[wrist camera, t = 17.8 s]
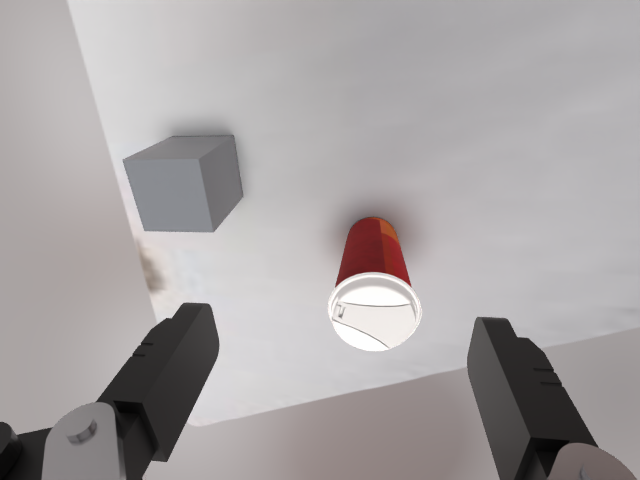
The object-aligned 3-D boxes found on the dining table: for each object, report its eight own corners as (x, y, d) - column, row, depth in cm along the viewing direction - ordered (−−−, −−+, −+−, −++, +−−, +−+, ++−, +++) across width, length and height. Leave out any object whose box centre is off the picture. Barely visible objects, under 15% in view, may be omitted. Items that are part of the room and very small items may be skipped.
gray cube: (172, 136, 38) (122, 159, 30) (233, 135, 37) (198, 159, 29) (186, 196, 41) (144, 231, 33) (243, 196, 40) (213, 232, 33)
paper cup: (331, 257, 43) (317, 342, 31) (348, 200, 39) (339, 271, 27) (394, 274, 43) (405, 365, 31) (417, 218, 39) (439, 296, 27)
